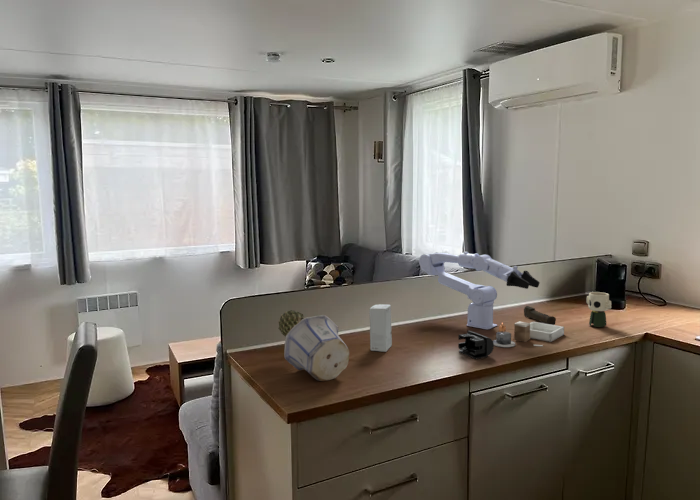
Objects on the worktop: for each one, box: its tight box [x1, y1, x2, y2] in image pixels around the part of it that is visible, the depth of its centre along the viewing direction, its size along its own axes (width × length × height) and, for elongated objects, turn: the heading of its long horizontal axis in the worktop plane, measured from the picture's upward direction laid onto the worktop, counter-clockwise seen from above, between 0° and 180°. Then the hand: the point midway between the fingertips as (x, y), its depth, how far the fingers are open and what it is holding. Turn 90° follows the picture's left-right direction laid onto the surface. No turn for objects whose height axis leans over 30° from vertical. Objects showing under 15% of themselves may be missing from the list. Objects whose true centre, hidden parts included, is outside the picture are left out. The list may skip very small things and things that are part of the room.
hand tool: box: [523, 305, 557, 325], centre depth 219 cm, size 19×4×5 cm, turn 13°
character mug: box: [586, 291, 612, 328], centre depth 207 cm, size 11×7×13 cm, turn 26°
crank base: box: [492, 339, 544, 349], centre depth 186 cm, size 17×8×1 cm, turn 78°
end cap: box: [457, 330, 495, 360], centre depth 176 cm, size 10×7×7 cm
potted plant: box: [277, 309, 350, 382], centre depth 164 cm, size 18×18×30 cm
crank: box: [495, 321, 512, 344], centre depth 190 cm, size 13×5×5 cm, turn 168°
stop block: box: [513, 320, 531, 343], centre depth 191 cm, size 4×4×6 cm
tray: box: [529, 321, 565, 342], centre depth 197 cm, size 12×12×3 cm
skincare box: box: [369, 303, 393, 353], centre depth 183 cm, size 8×6×15 cm
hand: (533, 285), depth 193 cm, fingers open, 7 cm apart
